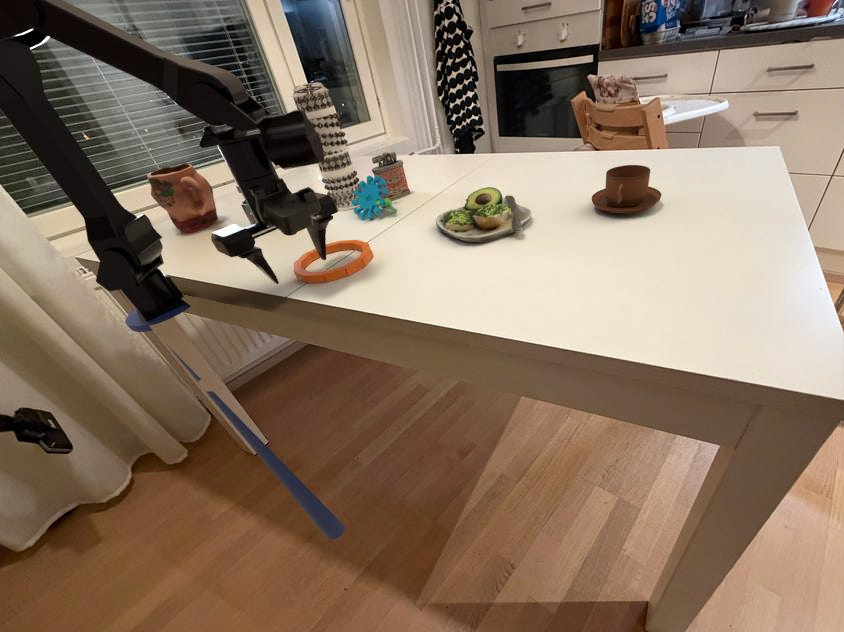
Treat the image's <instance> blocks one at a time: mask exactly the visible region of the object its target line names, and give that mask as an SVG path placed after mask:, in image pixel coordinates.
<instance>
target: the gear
mask: <svg viewBox="0 0 844 632" xmlns="http://www.w3.org/2000/svg"><path fill="white" fill-rule="evenodd" d="M380 180H381V181H380ZM379 181H380V182H379ZM377 182H379V183H378V184H377ZM358 184H359V185H360V187H361V193H360V191H359V190H357V189H356V190H355V191H354V195H356V196H358V197H359V201H357V200H355V199H353V201H352V205H354V206H357V205H360V206H358V207H356V208H353V213H354V215H357V216H358V217H359V218H360V219H362V220H365V219H366V218H368V219H369V220H373V219H374V214H376V215H380V214H381V213H382V209H383V210H391V211H393V212H394V213H398V209H397V208H396V207H394V206H393V205H392V204H393V201H391V200H390V199H388V198H385V199H384V198H381V194H382V193H383V194H384V195H388V191H389V190H388V189H386V188H383V189H380V187H381V186H383V187H385V186H386V181H385V180H384V179H381V178H380V177H379V176H378V175H375V176H374V177H373V176H372V175H367V176H366V181H364V180H360V181H359V182H358Z"/></svg>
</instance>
